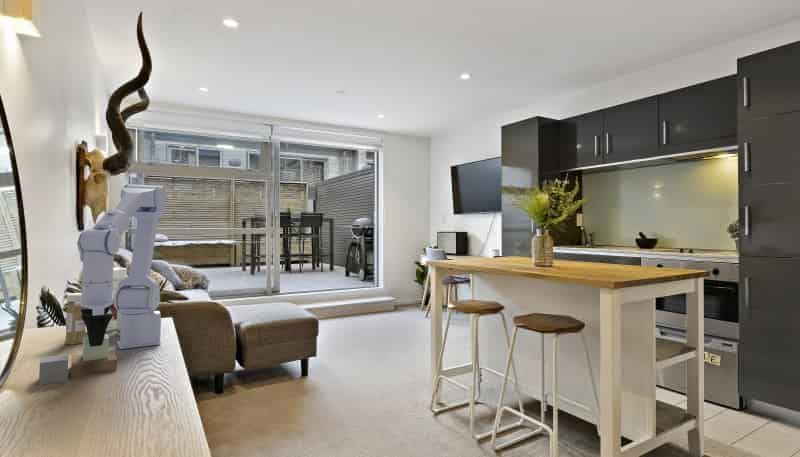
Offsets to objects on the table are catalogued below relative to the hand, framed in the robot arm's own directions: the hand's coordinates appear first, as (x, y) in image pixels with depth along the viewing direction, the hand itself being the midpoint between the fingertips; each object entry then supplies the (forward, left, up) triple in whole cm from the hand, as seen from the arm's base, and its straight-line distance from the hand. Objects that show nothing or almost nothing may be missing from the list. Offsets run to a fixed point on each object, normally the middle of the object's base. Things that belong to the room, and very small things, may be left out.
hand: (95, 341), depth 96 cm
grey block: (+7, +4, -6) cm, 10 cm away
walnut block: (0, 0, -6) cm, 6 cm away
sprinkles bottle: (+3, -28, -6) cm, 29 cm away
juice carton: (-5, -42, -6) cm, 43 cm away
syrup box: (-10, -32, -6) cm, 34 cm away
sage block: (0, 0, -3) cm, 4 cm away
